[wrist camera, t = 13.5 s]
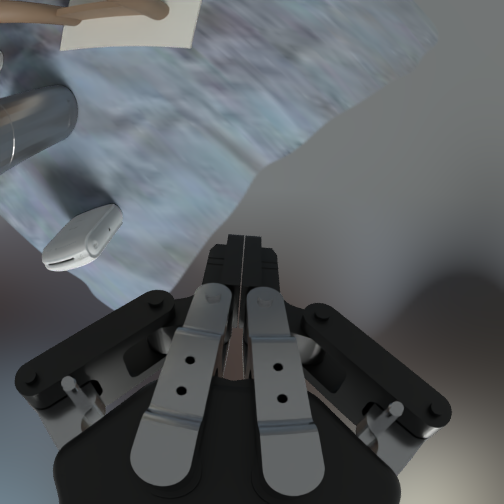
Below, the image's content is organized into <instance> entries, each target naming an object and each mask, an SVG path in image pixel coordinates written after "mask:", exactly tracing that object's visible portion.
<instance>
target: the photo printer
mask: <svg viewBox="0 0 504 504" xmlns="http://www.w3.org/2000/svg"><path fill="white" fill-rule="evenodd" d="M122 220H123V214H122V211H121V210H120V208H119V207H118V206H116V205H115V204H108V205H105V206H101V207H98V208H95V209H92V210H90V211H87V212H84V213H82V214H80V215H77V216H76V217H74V218H73V219H71V220H70V221H69V222H68V223H67V224H66V225H65V226H64V227H63V228H62V229H61V231H60V232H59V233H58V234H57V235H56V236H55V237H54V238H53V239H52V240H51V241H50V242H49V244H48V245H47V246H46V247H45V248H44V250H43V253H42V261H43V263H44V264H45V266H46V268H47V269H49V270H52V271H66V270H70V269H74V268H77V267H81V266H83V265H86V264H88V263H90V262H92V261H94V260H95V259H96V258H98V257H99V256H100V254H101V253H102V251H103V250H104V249H105V247H106V246H107V244H108V243H109V241H110V240H111V239H112V237H113V236H114V235H115V233H116V232H117V230H118V229H119V228H120V227H121V225H122V223H123V222H122Z"/></svg>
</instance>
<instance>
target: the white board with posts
mask: <svg viewBox="0 0 504 504" xmlns="http://www.w3.org/2000/svg"><path fill="white" fill-rule="evenodd" d="M201 3H202V0H70V2H69V6H68V7H60V6H54V5H48V4H40V3H32V2H22V1H9V0H0V23H41V24H55V25H64V29H63V35H62V41H61V47H60V51H65V50H74V49H83V48H96V47H114V46H160V47H179V48H191V46H192V41H193V36H194V32H195V27H196V23H197V19H198V15H199V11H200V7H201Z"/></svg>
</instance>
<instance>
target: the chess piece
mask: <svg viewBox="0 0 504 504" xmlns="http://www.w3.org/2000/svg"><path fill="white" fill-rule="evenodd" d="M2 66H3V54H2V52H1V51H0V71H1V68H2Z"/></svg>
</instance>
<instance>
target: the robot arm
mask: <svg viewBox="0 0 504 504" xmlns="http://www.w3.org/2000/svg"><path fill="white" fill-rule="evenodd" d="M77 115H78V109H77V103H76V100H75V97H74V95H73V93H72V92H71V91H70V90H69V89H68V88H66V87H65V86H62V85H53V86H48V87H43V88H38V89H34V90H29V91H25V92H21V93H18V94H14V95H10V96H7V97H3V98H0V175H1V174H3V173H4V172H6V171H8V170H9V169H11V168H12V167H14V166H16V165H17V164H19V163H21V162H23V161H24V160H26V159H28V158H30V157H31V156H33V155H35V154H37V153H39V152H41V151H42V150H44V149H46V148H48V147H50V146H52V145H54V144H56V143H58V142H60V141H62V140H64V139H65V138H67V137H68V136H69V135H70V134H71V132H72V131H73V129H74V127H75V124H76V121H77ZM243 244H244V235H232V234H229V235H228V241H227V245H222V244H216V245H215V246H214V247H213V248H212V249H211V250H210V253H209V257H208V261H207V265H206V270H205V273H204V278H203V282H202V286H200V287H199V288H198V289H197V290H196V292H195V294H194V295H192V296H190V297H187V298H182V299H175V300H174V298H173V296H172V295H171V294H170V293H168V292H166V291H163V290H152V291H149V292H146V293H145V294H143V295H141V296H139V297H138V298H136V299H134V300H132V301H131V302H129V303H127V304H125V305H124V306H122V307H120V308H118V309H117V310H115V311H113V312H112V313H110V314H108V315H106V316H105V317H103V318H101V319H100V320H98V321H96V322H94V323H93V324H91V325H89V326H88V327H86V328H84V329H82V330H81V331H79V332H77V333H76V334H74V335H73V336H71V337H69V338H68V339H66V340H64V341H62V342H61V343H59V344H57V345H55V346H54V347H52V348H50V349H49V350H47V351H45V352H44V353H42V354H40V355H39V356H37V357H35V358H34V359H32V360H30V361H29V362H27V363H25V364H24V365H23V366H21V367H20V369H19V370H18V371H17V373H16V376H15V386H16V389H17V390H18V391H19V393H20V394H21V395H22V396H23V397H24V398H25V399H26V400H27V402H28V403H29V405H30V406H31V407H32V408H33V409H34V410H35V411H36V412H37V413H38V415H39V417H40V419H41V420H42V422H43V424H44V426H45V428H46V429H47V431H48V433H49V435H50V437H51V438H52V440H53V442H54V443H55V445H56V447H57V448H58V450H59V452H58V454H57V456H56V458H55V461H54V465H53V477H54V481H55V485H56V489H57V493H58V497H59V504H399V502H400V498H401V488H400V483H399V480H398V478H397V476H398V474H399V473H400V472H401V471H402V470H403V468H404V467H405V466H406V465H407V463H408V462H409V461H410V460H411V458H412V457H413V456H414V454H415V453H416V452H417V450H418V449H419V448H420V446H421V445H422V444H423V442H425V441H426V440H427V439H429V438H430V437H431V436H433V435H434V434H435V433H437V432H438V431H439V430H440V429H442V428H443V427H444V426H445V425H446V424H447V423H448V422H449V421H450V419H451V415H452V411H451V406H450V404H449V402H448V401H447V399H446V398H445V397H444V396H442V395H441V394H440V393H439V392H437V391H436V390H435V389H434V388H432V387H431V386H430V385H429V384H427V383H426V382H425V381H424V380H422V379H421V378H420V377H419V376H418V375H416V374H415V373H414V372H413V371H411V370H410V369H409V368H408V367H406V366H405V365H404V364H403V363H401V362H400V361H399V360H398V359H396V358H395V357H394V356H393V355H391V354H390V353H389V352H388V351H386V350H385V349H384V348H383V347H381V346H380V345H379V344H378V343H376V342H375V341H374V340H373V339H371V338H370V337H369V336H367V335H366V334H365V333H364V332H362V331H361V330H360V329H359V328H358V327H356V326H355V325H354V324H353V323H351V322H350V321H349V320H348V319H346V318H345V317H344V316H343V315H341V314H340V313H339V312H338V311H336V310H335V309H334V308H332V307H331V306H329V305H326V304H323V303H314V304H310V305H308V306H307V307H306V308H305V309H301V308H297V307H295V306H292V305H290V304H289V303H287V302H286V301H285V300H284V299H283V296H282V295H281V294H280V287H279V275H278V264H277V255H276V253H275V252H274V251H273V250H272V248H261V237H257V236H246V238H245V249H244V262H243V275H242V288H241V301H240V316H239V328H243V343H242V346H243V347H242V348H243V349H242V350H243V372H244V380H237V381H231V380H228V379H224V378H223V374H224V369H225V363H226V358H227V352H228V348H229V342H230V338H231V334H232V327H234V328H237V321H238V307H239V295H240V282H241V268H242V257H243ZM162 367H163V368H162ZM161 368H162V371H161V374H160V377H159V379H158V380H155V381H153V382H150V383H149V384H147V385H145V386H144V387H142V388H141V389H140V390H138V391H137V392H136V393H134V394H133V395H132V396H130V397H129V398H128V399H127V400H125V401H124V402H122V403H121V404H120V405H118V406H117V407H116V408H114V409H113V410H112V411H110V412H109V413H108V414H106V415H105V413H106V406H108V405H109V404H111V403H112V402H114V401H115V400H117V399H118V398H120V397H121V396H122V395H124V394H125V393H127V392H128V391H130V390H131V389H132V388H134V387H135V386H137V385H138V384H140V383H141V382H143V381H144V380H145V379H147V378H148V377H150V376H151V375H152V374H154V373H155V372H157V371H158V370H159V369H161ZM304 378H305V379H306V380H308V382H310V383H311V384H312V385H313V386H314V387H315V388H316V389H317V390H318V391H319V392H320V393H321V394H322V395H323V396H324V397H325V398H326V399H327V400H329V401H330V402H331V403H332V404H333V405H334V406H335V407H336V408H337V409H338V410H339V411H340V412H341V413H343V414H344V415H345V416H346V417H347V418H348V419H349V420H350V421H351V422H353V424H355V425H356V435H355V434H354V433H353V432H352V431H351V430H350V429H349V428H348V427H347V426H346V425H345V424H344V423H343V422H342V421H341V420H340V419H339V418H338V417H337V416H336V415H335V414H334V413H333V412H332V411H331V410H330V409H329V408H328V407H327V406H326V405H325V404H324V403H323V402H322V401H321V400H320V399H319V398H318V397H316V396H315V395H314V394H312V393H310V392H309V391H307V389H306V384H305V379H304Z"/></svg>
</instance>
